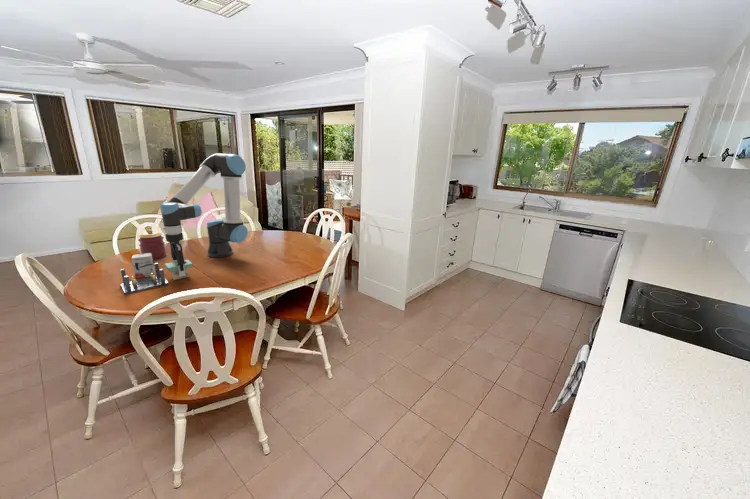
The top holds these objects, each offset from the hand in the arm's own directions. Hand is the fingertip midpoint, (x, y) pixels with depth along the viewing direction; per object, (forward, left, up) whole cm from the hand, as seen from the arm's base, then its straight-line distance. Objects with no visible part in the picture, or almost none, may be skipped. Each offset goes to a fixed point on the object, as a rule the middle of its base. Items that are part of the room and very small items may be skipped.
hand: (180, 273), depth 167 cm
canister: (+3, -45, -2) cm, 46 cm away
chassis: (+16, 0, -2) cm, 16 cm away
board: (0, 0, +4) cm, 4 cm away
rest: (0, 0, -2) cm, 2 cm away
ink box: (+14, -14, -2) cm, 19 cm away
